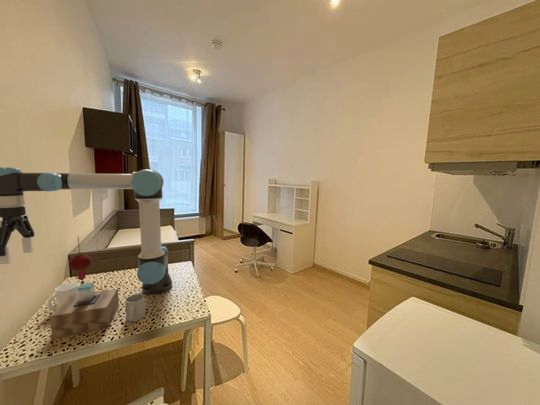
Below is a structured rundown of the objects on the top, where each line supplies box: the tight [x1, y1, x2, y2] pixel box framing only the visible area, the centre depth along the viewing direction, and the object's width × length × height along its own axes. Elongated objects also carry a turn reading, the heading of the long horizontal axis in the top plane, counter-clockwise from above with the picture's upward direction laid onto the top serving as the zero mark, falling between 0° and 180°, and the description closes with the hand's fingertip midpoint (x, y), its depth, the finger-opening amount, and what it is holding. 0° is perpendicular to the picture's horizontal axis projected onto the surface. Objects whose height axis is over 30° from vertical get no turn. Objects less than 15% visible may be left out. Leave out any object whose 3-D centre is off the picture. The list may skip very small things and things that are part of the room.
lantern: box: [68, 237, 93, 285], centre depth 121 cm, size 10×10×30 cm
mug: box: [46, 281, 80, 311], centre depth 104 cm, size 12×8×10 cm
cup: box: [124, 293, 146, 323], centre depth 97 cm, size 7×10×9 cm
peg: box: [78, 281, 96, 303], centre depth 95 cm, size 4×4×9 cm
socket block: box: [49, 288, 120, 339], centre depth 96 cm, size 18×16×10 cm
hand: (17, 257), depth 92 cm, fingers open, 13 cm apart
